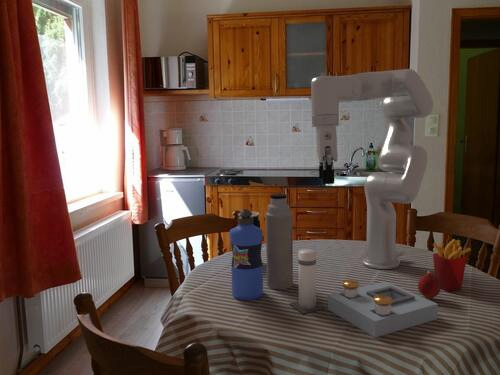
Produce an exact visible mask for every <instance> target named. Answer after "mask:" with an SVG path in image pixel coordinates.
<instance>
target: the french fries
mask: <svg viewBox="0 0 500 375" xmlns="http://www.w3.org/2000/svg"><path fill="white" fill-rule="evenodd" d="M461 242H462V241H461V240H459V239H457V240H456V239H454V238H452V240H450V241H449V242H448V243H447V244H446V246H445V247H444V244H443V243H439V245H438V244H437V243H436V242H434V243H432V246H433V247H434V249H435V250H436V252H437V253H433V254H432V256H433V259H432V260H433V267H434V268H433V269H434V270H433V271H434V276H435V277H436V278H437V279H438V280H439V282H440V288H441V289H440V290H443V291H445V292H447V293H450V292H455V291H456V292H457V291H461V290H462V286H463V281H464V276H465V269H466V264H467V259H468V258H467V257H466V256H464V254H467V253H468V252H471V251H472V249H471V248H470V247H466V248H465V249H463V247H462V246H461ZM462 249H463V250H462Z"/></svg>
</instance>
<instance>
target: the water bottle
mask: <svg viewBox="0 0 500 375" xmlns="http://www.w3.org/2000/svg"><path fill="white" fill-rule="evenodd" d="M251 212H252V211H250V209H247V208H244V209H241V211H239V213H238V214H239V215H240V216H241V217H239V216H238V218H237V219H238V220H237V223H239V225H238V224H237V226H235V227H234V228H231V229H230V230H229V243H230V246H231V254H232V257H231V268H230V269H231V296H232V297H233V298H234V299H236V300H241V301H254V300H258V299H260V298H262V297H263V296H264V275H263V274H264V270H263V268H264V267H263V266H264V265H263V261H262V245H263V240H264V239H263V229H262V228H261V227H260V228H258V227H256V226H254V225H253V224H252V223H253V217H251V215H252V213H251Z"/></svg>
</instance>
